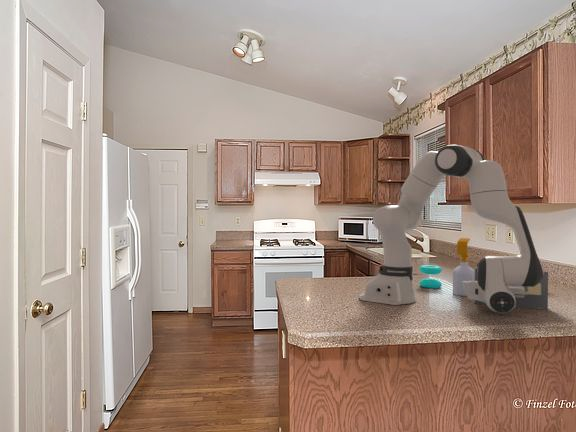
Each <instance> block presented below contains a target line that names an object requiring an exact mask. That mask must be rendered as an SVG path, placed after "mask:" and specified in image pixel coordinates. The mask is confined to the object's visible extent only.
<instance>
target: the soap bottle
mask: <svg viewBox="0 0 576 432" xmlns="http://www.w3.org/2000/svg"><path fill="white" fill-rule="evenodd" d="M470 240H471V239H470V238H468V237H467V238H464V237H463V238H462V237H460V238H459V239H458V241H457V244H456V247H457V248H456V249H457V250H456V255H458V256H460V258H461V259H460V260H459V265H458V266H457V267H455V268H453V271H452V294H454V295H455V296H459V297H468V296H467V295H465V294H464V293H463V291H462V281H475V269H474V268H472V267H471V266H470V265H469V260H467V258H469V257H468V256H471V253H468V243H469V242H470Z"/></svg>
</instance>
